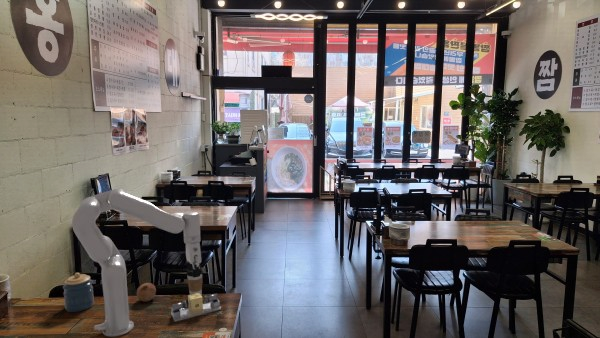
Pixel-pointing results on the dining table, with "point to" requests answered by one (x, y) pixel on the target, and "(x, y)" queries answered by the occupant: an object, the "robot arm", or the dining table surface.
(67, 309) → the canister
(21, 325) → the dining table surface
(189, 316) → the shaft bench
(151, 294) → the onion
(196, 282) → the coffee cup
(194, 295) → the tan wooden cube
